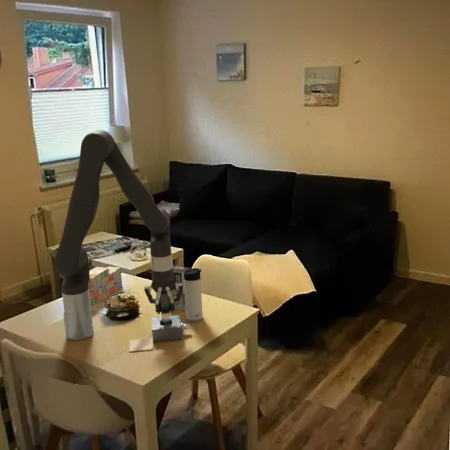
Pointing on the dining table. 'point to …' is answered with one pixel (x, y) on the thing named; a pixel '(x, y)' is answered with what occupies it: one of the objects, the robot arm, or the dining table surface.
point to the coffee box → (179, 279)
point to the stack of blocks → (103, 283)
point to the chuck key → (165, 308)
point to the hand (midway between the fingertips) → (165, 312)
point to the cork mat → (141, 345)
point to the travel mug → (193, 295)
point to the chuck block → (168, 329)
